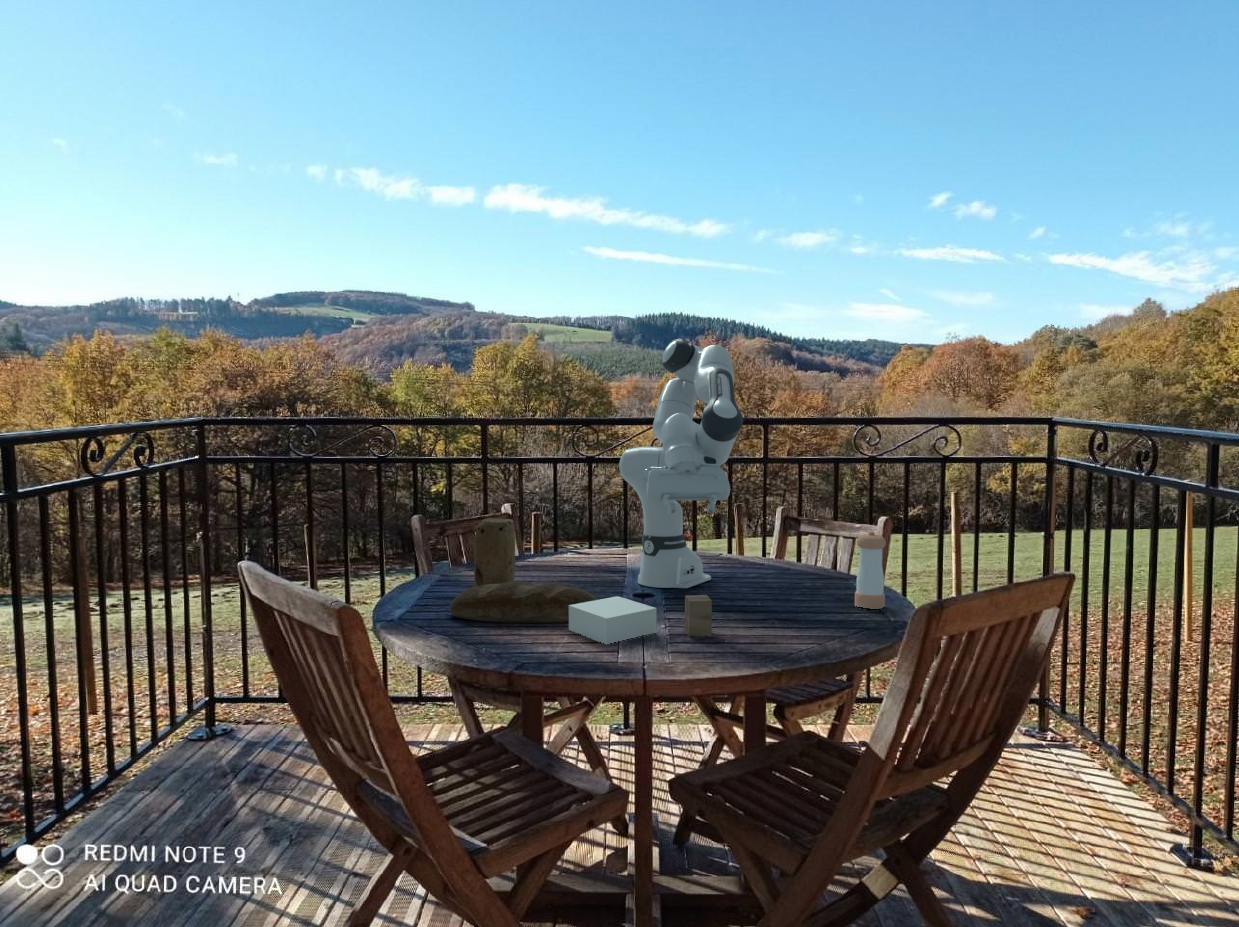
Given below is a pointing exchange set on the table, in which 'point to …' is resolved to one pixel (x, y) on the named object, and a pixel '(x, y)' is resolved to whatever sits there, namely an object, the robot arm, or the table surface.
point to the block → (494, 552)
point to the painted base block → (612, 619)
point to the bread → (518, 602)
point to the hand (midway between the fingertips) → (692, 511)
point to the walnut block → (698, 615)
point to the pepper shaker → (870, 572)
